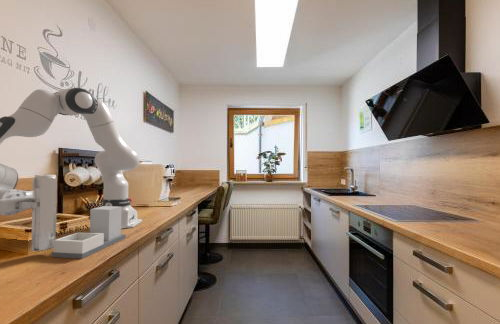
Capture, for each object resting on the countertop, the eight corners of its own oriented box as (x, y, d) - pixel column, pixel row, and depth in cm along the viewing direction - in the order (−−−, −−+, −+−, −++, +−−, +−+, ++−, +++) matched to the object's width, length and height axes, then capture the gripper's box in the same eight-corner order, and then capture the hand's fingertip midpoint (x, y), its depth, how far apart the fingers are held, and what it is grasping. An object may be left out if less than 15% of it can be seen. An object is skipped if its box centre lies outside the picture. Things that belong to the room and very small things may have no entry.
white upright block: (27, 248, 85) (29, 174, 85) (50, 243, 91) (51, 174, 91) (36, 252, 82) (38, 175, 82) (59, 246, 88) (61, 174, 88)
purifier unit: (101, 236, 109) (102, 205, 110) (125, 237, 108) (126, 206, 108) (51, 256, 85) (53, 216, 85) (82, 258, 84) (83, 217, 84)
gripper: (-26, 196, 77) (17, 197, 76) (35, 189, 97) (69, 190, 96) (-27, 217, 77) (16, 219, 76) (35, 206, 97) (69, 207, 96)
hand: (46, 203), depth 86 cm, fingers closed on white upright block, 6 cm apart
